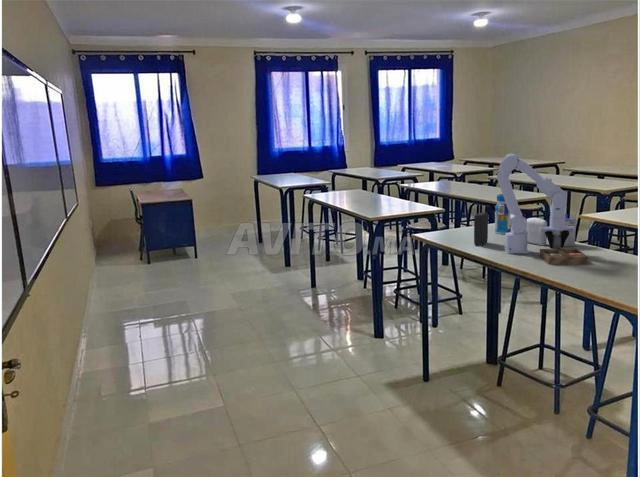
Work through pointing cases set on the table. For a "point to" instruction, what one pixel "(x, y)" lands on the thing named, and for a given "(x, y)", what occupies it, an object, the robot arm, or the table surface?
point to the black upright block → (481, 228)
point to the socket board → (563, 256)
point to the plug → (556, 241)
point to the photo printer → (536, 231)
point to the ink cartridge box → (571, 238)
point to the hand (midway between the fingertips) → (556, 247)
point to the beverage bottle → (502, 216)
